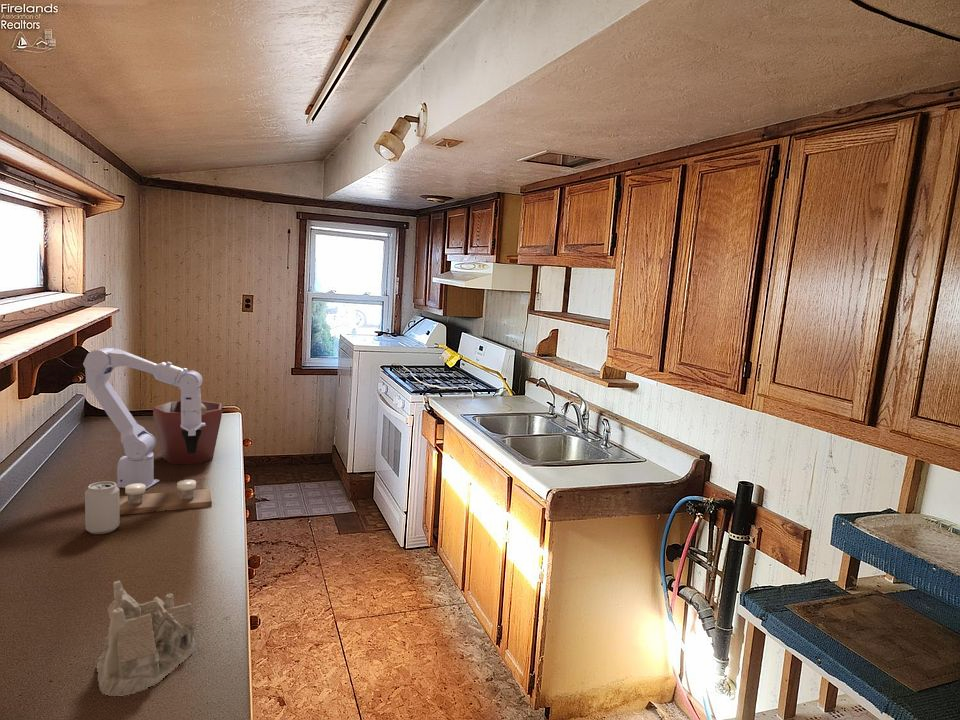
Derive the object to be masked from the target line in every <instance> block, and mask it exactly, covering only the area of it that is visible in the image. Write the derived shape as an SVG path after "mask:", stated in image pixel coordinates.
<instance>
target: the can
mask: <svg viewBox="0 0 960 720" xmlns="http://www.w3.org/2000/svg"><path fill="white" fill-rule="evenodd" d="M116 485H117V482H114V481H107V480H105V481H98V482H93V483H91V484H89V485H87V489H86V491H84V512H85V513H84V518H85V519H84V521H85V525H84V526H85V530H86V531H87V532H88V533H90V534H92V535H104V534H108V533H112V532H113V531H115V530H116V529H117V528H118V527H119V526H120V523H121V522H120V521H121V519H120V516H121V515H120V506H119V496H120V487H117V486H116Z"/></svg>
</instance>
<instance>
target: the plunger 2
mask: <svg viewBox="0 0 960 720" xmlns="http://www.w3.org/2000/svg"><path fill="white" fill-rule="evenodd" d="M196 488H197V480H195V479H183V480H179V481H177V483H176V489H177V491H180V490H181V491H187V490H192V489H193V490H196Z"/></svg>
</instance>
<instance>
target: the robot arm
mask: <svg viewBox="0 0 960 720" xmlns="http://www.w3.org/2000/svg"><path fill="white" fill-rule="evenodd" d="M82 365H83V367H84V372H85V383H86V385H87V387H88V388H89V390H90V391H91V394H93V396H94V398H95V399H96V400H97V402H98V403H99V405H100V407H102V409H103V410H104V412H105V413H106V416H108V417H109V419H110V420H111V422H112V423H113V424H114V426H115V427H116V429H117V431H118V433H119V434H120V442H121V444H122V446H123V451H124V455H122V456H121V457H120V458H119V460H118V463H117V467H116V471H117V473H116V474H117V476H116V477H117V478H116V480H117V482H116V486H117V487H118V488H119V489H120V488H122V489H125V487H126V486H127V485H130V484H137V483H140V484H145V485H146V490H147V489H149V488H151V487H153V486H154V485H156V484H157V483H159V482H160V479H157V478H156V479H155V478H154V477H155V476H154V472H155V471H154V469H155V465H154V461H155V460H154V459H155V458H154V456H155V455H154V454H155V453H154V452H153V449H154V448H155V447H156V445H157V440H156V437H155V436H154V435H153V434H152V433H150V432H149V431H147V430H146V428H145V427H143V425H140V424H139V423H138V422H137V420H136V419H135V418H134V416H133V414H132V413H131V412H130V411H129V409H128V407H127V406H126V405H125V402H123V400H122V399H121V398H120V395H119V394H118V393H117V392H116V390H115V389H114V387H113V385H112V384H111V383H110V381H109V380H110V377H111V375H112V374H111V373H112V371H113V370H114V369H115V368H118V367H119V368H120V367H128V368H131V369H135V370H139V371H142V372H145V373H147V374H152V375H153V378H154V379H155V380H157V381H160V382H162V383H165V384H169V385H171V386H174V387H178V388H179V390H180V391H181V392H180V393H181V425H180V426H181V428H183V429H185V430H182V431H181V432H182V436H183V437H184V439H185V442H186V447H187V451H188V454H189V453H196V449H197V443H198V439H199V437H200V435H201V433H202V432H201V428H200V427H202V426H206V424H205V423H201V401H202V394H201V393H202V392H201V390H202V389H201V386H202V384H203V378H204V377H203V376H202V374H201V373H199V371H196V370H194V369H191V370H189V369H188V368H186V367H184V368H182V367H179V366H176V365H173V362H170V361H166V362H165V361H162V362H160V363H155V362H153V361H150V360H148V359H145V358H143V357H141V356H138V355H136V354H133V353H131V352H128V351H126V350H124V349H121V348H115V347H112V346H104V347H101V348H99V349H95V350H91V351H90V352H88V353H87V354H86V357H85V358H84V360H83V363H82Z"/></svg>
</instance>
